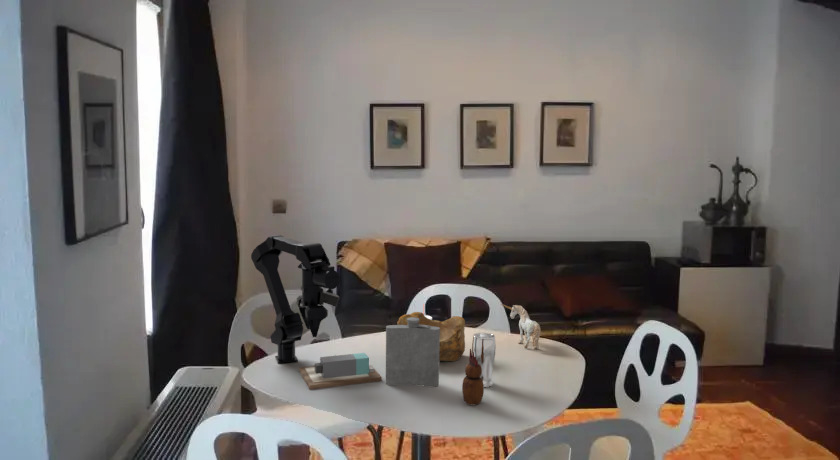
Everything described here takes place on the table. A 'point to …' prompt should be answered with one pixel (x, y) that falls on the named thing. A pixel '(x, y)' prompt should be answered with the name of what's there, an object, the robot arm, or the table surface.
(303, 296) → the robot arm
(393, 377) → the hip flask
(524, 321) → the unicorn figurine
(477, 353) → the beer glass
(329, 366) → the marker
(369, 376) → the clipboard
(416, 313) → the rough brown rock
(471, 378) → the wooden figurine
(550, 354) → the table surface
